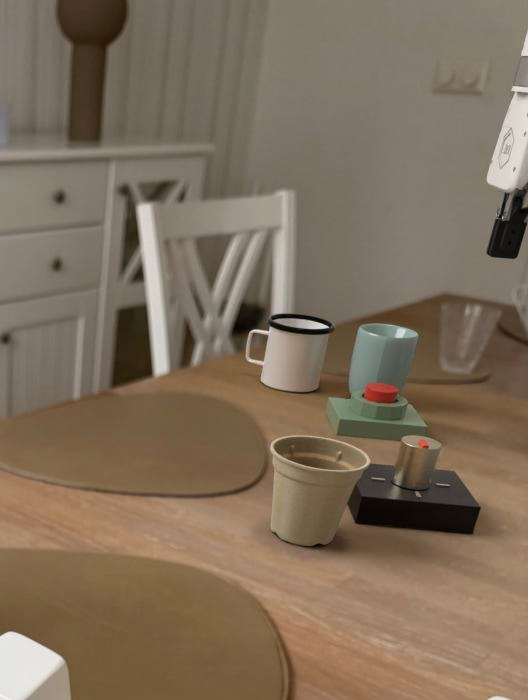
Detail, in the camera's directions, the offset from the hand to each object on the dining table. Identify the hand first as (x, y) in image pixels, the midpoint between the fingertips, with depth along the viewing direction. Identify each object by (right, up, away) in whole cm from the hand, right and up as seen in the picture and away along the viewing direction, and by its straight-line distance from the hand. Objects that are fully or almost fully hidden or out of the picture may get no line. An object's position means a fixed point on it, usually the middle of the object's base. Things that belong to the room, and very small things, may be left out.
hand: (501, 256), depth 116 cm
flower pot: (-28, -35, -18) cm, 49 cm away
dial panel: (-16, -31, -11) cm, 37 cm away
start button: (-11, -15, +10) cm, 21 cm away
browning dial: (-15, -29, -13) cm, 35 cm away
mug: (-20, -8, +27) cm, 34 cm away
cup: (-8, -12, +21) cm, 26 cm away
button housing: (-11, -18, +12) cm, 24 cm away
